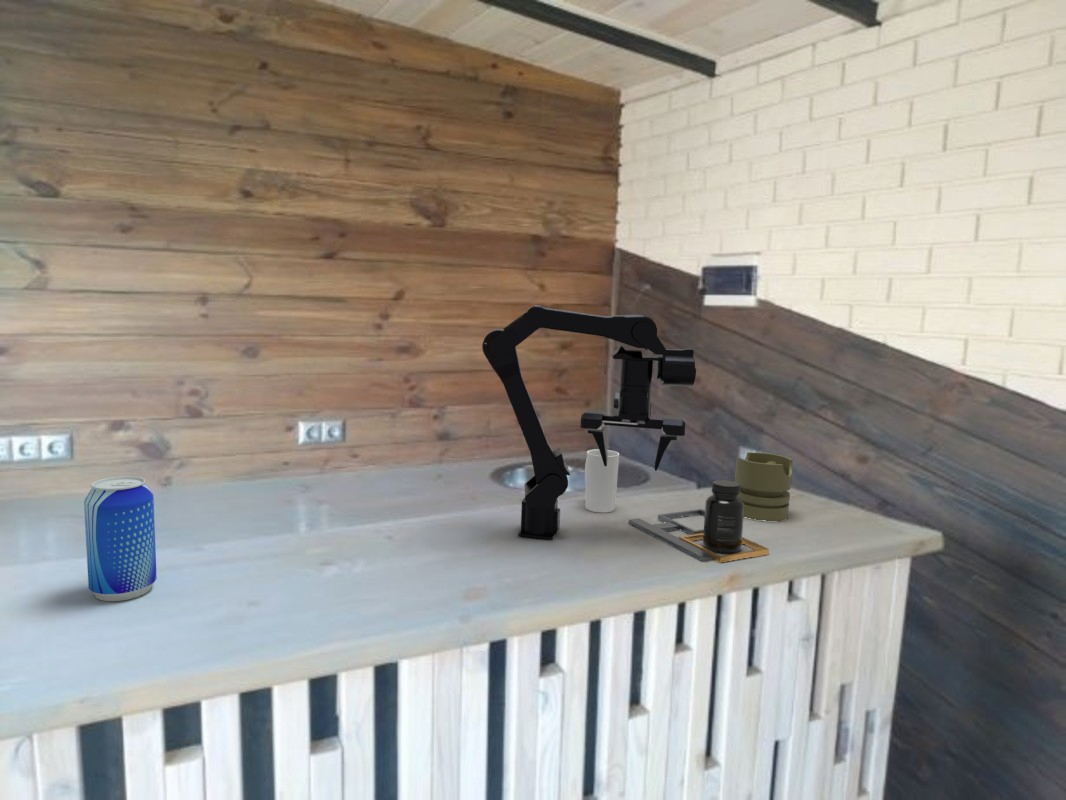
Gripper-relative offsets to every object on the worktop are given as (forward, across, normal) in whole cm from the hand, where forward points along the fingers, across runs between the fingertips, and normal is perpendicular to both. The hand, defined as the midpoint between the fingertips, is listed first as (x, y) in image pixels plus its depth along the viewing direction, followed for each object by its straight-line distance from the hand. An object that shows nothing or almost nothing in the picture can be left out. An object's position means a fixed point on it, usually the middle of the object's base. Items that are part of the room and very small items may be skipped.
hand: (630, 468), depth 133 cm
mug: (+13, +8, -17) cm, 23 cm away
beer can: (+13, +67, +48) cm, 84 cm away
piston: (+13, -26, -24) cm, 38 cm away
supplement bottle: (+13, -17, +1) cm, 22 cm away
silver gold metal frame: (+13, -14, -4) cm, 20 cm away
